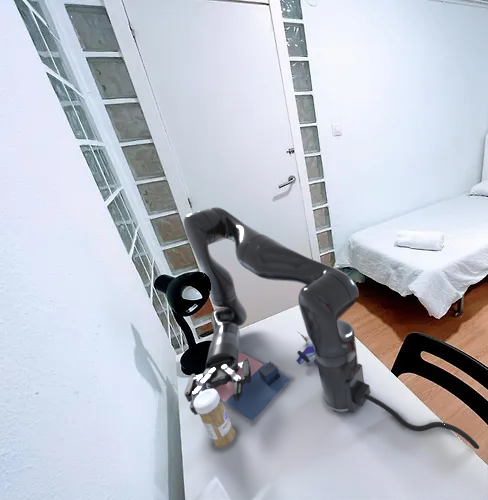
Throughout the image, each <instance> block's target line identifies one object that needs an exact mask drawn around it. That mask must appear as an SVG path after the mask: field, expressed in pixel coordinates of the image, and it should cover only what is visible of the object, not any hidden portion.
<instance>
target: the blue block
mask: <svg viewBox="0 0 488 500" xmlns="http://www.w3.org/2000/svg"><path fill="white" fill-rule="evenodd" d="M258 371H259V373H260V376H261V379H262V380H263V381H264V382H265V383H266V384H267V385H268V386H270V385H271V384H272V383H273V382H275V381H276V380H277V379H278V378H279V377H280V375H279V372H280V371H279V368H278V366H277V365H275V364H274V363H273V362H272V361H270V360H269V361H267V363H266V364H264V366H263V367H261V368H260V369H259V370H258Z"/></svg>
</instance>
